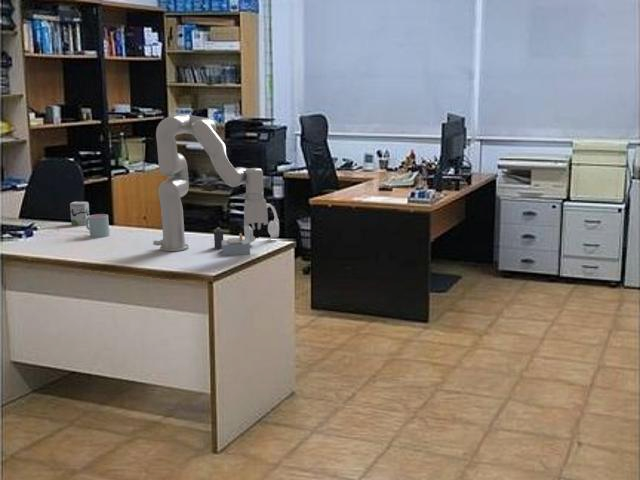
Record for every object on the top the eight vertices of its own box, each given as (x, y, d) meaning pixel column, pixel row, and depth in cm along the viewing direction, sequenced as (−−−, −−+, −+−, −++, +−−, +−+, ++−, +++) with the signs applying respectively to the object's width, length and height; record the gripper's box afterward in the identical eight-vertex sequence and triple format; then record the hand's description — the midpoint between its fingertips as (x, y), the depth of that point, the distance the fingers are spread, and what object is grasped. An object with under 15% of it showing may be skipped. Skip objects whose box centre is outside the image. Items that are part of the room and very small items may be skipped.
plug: (214, 249, 371) (213, 228, 369) (214, 247, 375) (213, 227, 373) (223, 248, 371) (222, 228, 369) (223, 246, 375) (222, 226, 373)
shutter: (228, 243, 358) (228, 236, 357) (228, 240, 366) (227, 233, 365) (242, 243, 359) (242, 235, 358) (241, 239, 366) (241, 232, 366)
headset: (251, 246, 374) (250, 208, 370) (241, 244, 378) (239, 206, 375) (282, 239, 388) (281, 201, 385) (271, 237, 393) (270, 200, 389)
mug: (113, 234, 408) (112, 215, 406) (99, 238, 400) (97, 218, 398) (94, 232, 415) (92, 212, 413) (79, 235, 407) (78, 215, 405)
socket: (222, 255, 357) (221, 245, 357) (221, 250, 367) (221, 240, 366) (250, 253, 359) (249, 243, 358) (248, 249, 369) (248, 239, 368)
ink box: (71, 225, 436) (69, 203, 434) (75, 223, 441) (73, 201, 439) (86, 225, 435) (84, 203, 432) (90, 223, 440) (88, 201, 437)
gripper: (238, 198, 355) (240, 240, 359) (272, 197, 357) (274, 238, 361) (237, 196, 362) (239, 237, 366) (271, 194, 364) (272, 235, 368)
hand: (256, 237), depth 363 cm, fingers closed
